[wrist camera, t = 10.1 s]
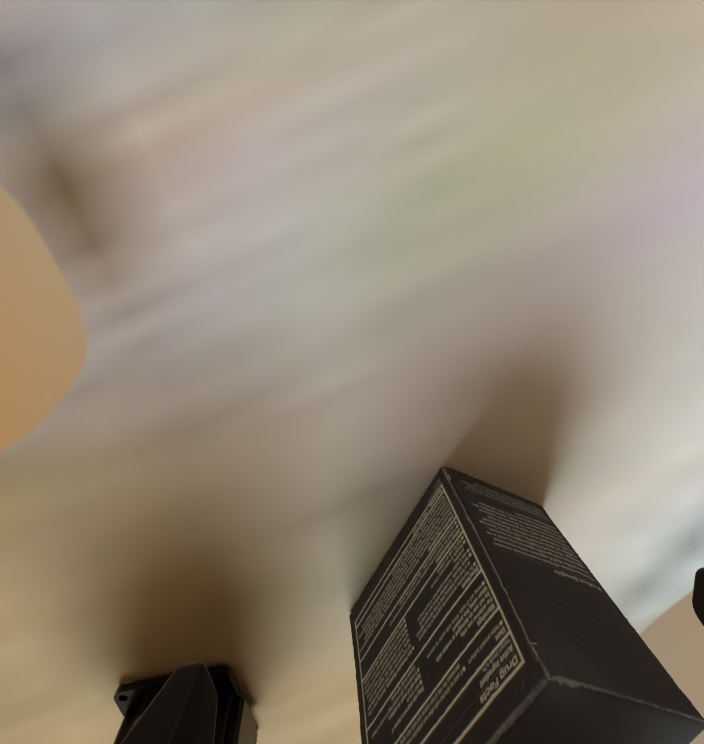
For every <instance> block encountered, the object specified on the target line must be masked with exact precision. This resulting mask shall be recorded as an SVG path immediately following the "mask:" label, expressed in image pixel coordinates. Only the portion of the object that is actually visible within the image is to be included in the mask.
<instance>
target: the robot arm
mask: <svg viewBox="0 0 704 744" xmlns="http://www.w3.org/2000/svg"><path fill="white" fill-rule="evenodd" d="M692 603H693V608H694V611H695V613H696V615H697V617H698V618H699V620H700V621H701V623H702V624H703V626H704V568H700V569H698V570H697V572H696V574H695V582H694V590H693V598H692ZM114 700H115V702H116V704H117V706H118V707H119V709H120V711H121V713H122V714H123V716H124V719H123V721H122V724H121V726H120V729H119V731H118V734H117V736H116V739H115V741H114V744H256V742H257V731H256V723H255V721H254V718H253V716H252V714H251V711H250V709H249V706H248V704H247V702H246V699H245V698H244V697H243V696H242V695H241V693H240V691H239V688H238V686H237V683H236V681H235V679H234V676H233V674H232V671H231V670H230V668H228V667H227V666H216V667H211V668H207V667H206V665H205V663H203V662H202V661H195V662H190V663H185V664H182V665H180V666H179V667H178V668H177V669H176V670H175V671H174V672H173V674H172V675H171V676H166V677H160V678H155V679H150V680H145V681H140V682H135V683H130V684H125V685H121V686H119V687H118V689H117V691H116V693H115V696H114Z"/></svg>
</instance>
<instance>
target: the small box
mask: <svg viewBox="0 0 704 744" xmlns="http://www.w3.org/2000/svg"><path fill="white" fill-rule="evenodd" d="M350 624H351V631H352V640H353V647H354V658H355V668H356V680H357V690H358V702H359V712H360V730H361V739H362V744H689V743H690V742H691V741H692V740H693V739H695V737H697V736H698V735H699V734H700V733H701V732H702V731H703V730H704V718H703V717H702V716H701V715H700V713H699V712H698V711H697V710H696V708H695V707H694V706H693V705H692V703H691V702H690V701H689V699H688V698H687V697H686V696H685V694H683V692H682V691H681V690H680V689H679V688H678V686H677V685H676V683H675V682H674V680H673V679H672V678H671V676H670V675H669V674H668V673H667V671H666V670H665V669H664V667H663V666H662V665H661V663H660V662H659V661H658V659H657V658H656V657H655V655H654V654H653V653H652V652H651V650H650V649H649V648H648V647H647V645H646V644H645V643H644V641H643V640H642V639H641V637H640V636H639V634H638V633H637V632H636V630H635V629H634V628H633V627H632V626H631V624H630V623H629V622H628V620H627V619H626V618H625V617H624V615H623V614H622V612H621V611H620V610H619V608H618V607H617V606H616V604H615V603H614V602H613V601H612V599H611V598H610V597H609V595H608V594H607V593H606V591H605V590H604V589H603V587H602V586H601V585H600V583H599V582H598V581H597V580H596V578H595V577H594V576H593V574H592V573H591V572H590V570H589V569H588V567H587V566H586V565H585V564H584V562H583V561H582V560H581V558H580V557H579V556H578V554H577V553H576V552H575V550H574V549H573V548H572V546H571V545H570V544H569V542H568V541H567V540H566V538H565V537H564V536H563V535H562V533H561V532H560V531H559V529H558V528H557V527H556V525H555V524H554V523H553V521H552V520H551V519H550V517H549V516H548V514H547V513H546V511H545V510H544V509H543V507H542V506H539V505H537V504H535V503H533V502H531V501H528V500H526V499H523V498H521V497H519V496H516V495H514V494H512V493H509V492H507V491H504V490H502V489H500V488H497V487H495V486H492V485H490V484H487V483H485V482H482V481H480V480H477V479H475V478H473V477H470V476H468V475H465V474H463V473H461V472H458V471H456V470H453V469H451V468H447V467H444V468H442V469H441V470H440V471H439V473H438V474H437V476H436V478H435V479H434V481H433V482H432V484H431V486H430V487H429V488H428V490H427V492H426V493H425V495H424V497H423V498H422V500H421V502H420V503H419V505H418V506H417V508H416V509H415V511H414V513H413V514H412V516H411V517H410V519H409V521H408V522H407V524H406V526H405V527H404V529H403V530H402V532H401V533H400V535H399V537H398V538H397V540H396V542H395V543H394V545H393V547H392V548H391V550H390V551H389V553H388V554H387V556H386V558H385V559H384V561H383V563H382V564H381V566H380V567H379V569H378V571H377V572H376V574H375V575H374V577H373V579H372V580H371V582H370V583H369V585H368V586H367V588H366V590H365V591H364V593H363V595H362V596H361V598H360V600H359V601H358V603H357V605H356V606H355V608H354V610H353V611H352V613H351V614H350Z"/></svg>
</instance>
